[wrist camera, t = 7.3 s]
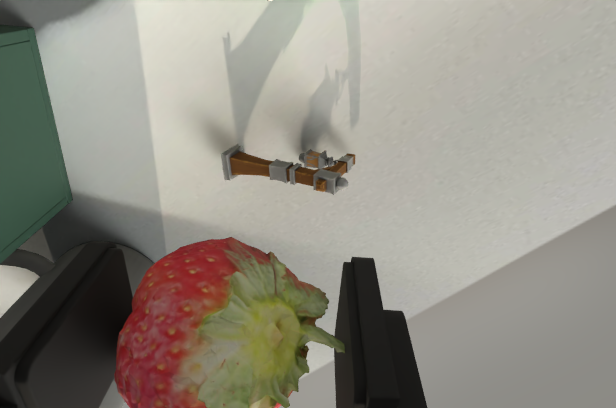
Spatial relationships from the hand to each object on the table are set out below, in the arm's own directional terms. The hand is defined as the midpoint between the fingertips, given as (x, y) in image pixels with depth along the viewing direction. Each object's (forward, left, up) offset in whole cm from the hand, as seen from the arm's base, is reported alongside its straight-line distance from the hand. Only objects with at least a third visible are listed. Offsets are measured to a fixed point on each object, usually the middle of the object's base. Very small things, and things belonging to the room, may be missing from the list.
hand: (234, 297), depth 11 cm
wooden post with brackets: (+2, 0, -17) cm, 17 cm away
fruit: (0, -1, -1) cm, 1 cm away
